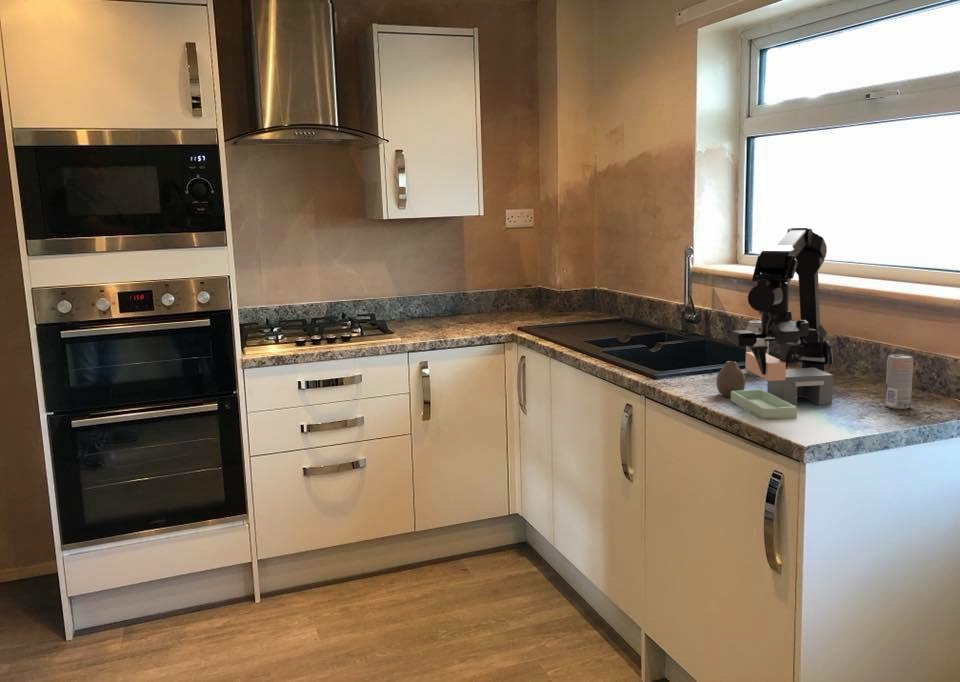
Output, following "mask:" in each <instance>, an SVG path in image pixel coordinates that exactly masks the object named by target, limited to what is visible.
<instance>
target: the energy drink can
mask: <svg viewBox="0 0 960 682" xmlns="http://www.w3.org/2000/svg"><path fill="white" fill-rule="evenodd" d="M759 327H761V319H760V320H758V319H757V320H756V319H755V320H749V321H748V324H747V326H746V330H748V331H751V332H754V333H761V332H759ZM764 346H767V347H768V348H767V351H766V354H768V355H770V354H769V352H770V351H769V350H770V349H769V347H770V341H765V342H764ZM746 352H752V350H751V348H750V347H748V346H745V353H746ZM745 371H746V372H747V375H748V376H752V375H753V376H754V377H759V376H758V375H756V374H755V373H753V372H751V371H749V370H747V369H746V368H745Z"/></svg>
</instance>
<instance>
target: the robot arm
mask: <svg viewBox="0 0 960 682" xmlns="http://www.w3.org/2000/svg"><path fill="white" fill-rule="evenodd" d="M827 251H828V247H827V243H826V242H825V239H824V237H823V236H821V235H820V234H817V233H815V232H813V230H812V228H811V227H807V226H800V227H798V226H795V227H794V226H793V227H791V228H788V229H787V232H786V234H785V235H784V236H783V238H782V239H781V240H780V241H779V242H778V244H776V245H775V246H770V247H766V248H765V249H764V248H763V250H761V252H760V254H759V255H758V256H757V258H756V262H755V268H754V271H753V275H752V278H751V279H752V280H751V281H752V282H757V285H755V286H753V287H752V288H751V289H750V290H749V292H748V295H747V302H748V304H749V306H750V307H751V309H753V310H755V311H757V312H758V314H759V315H760V320H761V327H759V332H761V333H754V332H751V331H748V330H747V329H741V330H740V329H739V330H738V329H737V330H732V331H731V332H730V334H729V343H730V344H733V345H735V346H738V347H746V346H748V347H750V348H751V350H752V352H753V354H754V356H755V358H756V360H757V363H758V365H759V368H760V370H761V373H762V374H763V375H765V374H766V351H767V348H768V347H767V346H764V342H765V341H769V342H772V341H775V342H777V344H779V360H781V361H783V362H785V363H786V369H788V365H789V364H790V361H791V358H792V356H793V362H794V363H800V368H817V369H819V370H822V371H824V372H825V365H826V366H827V365H832V364H833V363H834V362H833V360H834V357H833V349H832V346H831V342H830V341H829V340H828V332H827V331H826V329H825V328H824V327H823V325H822V324H821V318H820V314H821V312H820V292H819V290H820V287H819V270H820V269H821V267H822V266H823V263H824V262H825V258H826V257H827ZM795 274H797V276H798V291H799V292H798V293H799V294H798V295H799V313H800V317H799V318H800V319H798V320H793V318H792V315H793V314H792V311H790V310H789V309H790V308H789V305H790V304H789V303H790V302H789V301H790V282H791V280H792V279H794V277H795Z"/></svg>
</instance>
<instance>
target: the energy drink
mask: <svg viewBox="0 0 960 682" xmlns="http://www.w3.org/2000/svg"><path fill="white" fill-rule="evenodd" d="M913 358H914V357H913V356H912V355H910V354H903V353H902V354H900V353H895V354H893V353H891V354H889V355H888V356H887V359H886V360H887V361H886V378H885V396H884V397H885V398H884V406H886V407H887V408H889V409H890V408H891V409H894V410H907V409H909V408H911V406H912V405H911V404H912V402H911V401H912V388H913V372H914V369H913V368H914V359H913Z"/></svg>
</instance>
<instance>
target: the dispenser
mask: <svg viewBox="0 0 960 682" xmlns="http://www.w3.org/2000/svg"><path fill="white" fill-rule="evenodd" d="M766 385H767V386H766V387H767V390H766V391H767V392H768V393H770V394H772V395H774V396H776V397H778V398H780V399H782V400H784V401H786V402H788V403H790V404H792V405H794V406H796V407H797V406H798V405H797V403H798V398H804V399H805V398H806V399H808V400H809V401H811V402H814V403H816V404H817V405H829V404H833V394H834V393H833V390H834V389H833V388H834V387H833V386H834V374H831V373H829V372H827V371H825V370H824V371H822V370H819V369H817V368H801V367H800V368H786V375H785V380H776V381H767V384H766Z"/></svg>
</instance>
